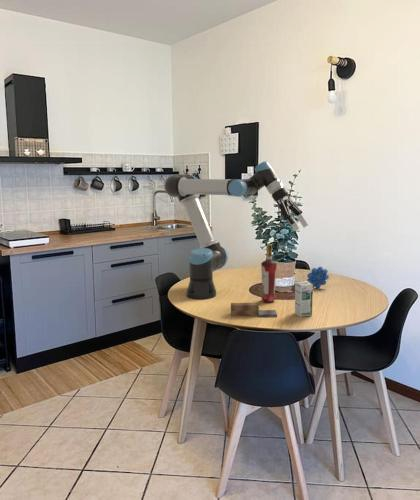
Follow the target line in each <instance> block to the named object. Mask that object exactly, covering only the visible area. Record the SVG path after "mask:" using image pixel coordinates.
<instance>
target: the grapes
mask: <svg viewBox="0 0 420 500" xmlns="http://www.w3.org/2000/svg"><path fill="white" fill-rule="evenodd" d="M328 272H329V271H328V269H326V268H325V269H324V267H322V266H319V267H317V268H315V267H313V268H312V269H311V272H309V273H307V276H306V277H307V279H306V281H307V282H310V283H312V284H313V289H314V288H315V289H320V288H321V286H325V285H326V284H327V280H329V278H330V277H329V274H328Z"/></svg>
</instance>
